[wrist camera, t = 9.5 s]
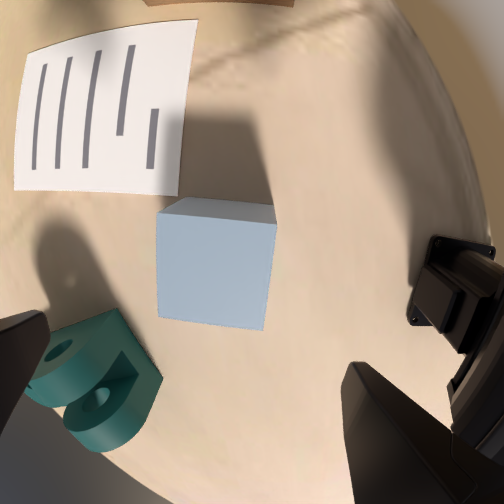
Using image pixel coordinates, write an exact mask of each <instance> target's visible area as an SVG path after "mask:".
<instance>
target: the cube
mask: <svg viewBox="0 0 504 504" xmlns="http://www.w3.org/2000/svg"><path fill="white" fill-rule="evenodd" d="M276 230H277V221H276V215H275V209H274V205H269V204H260V203H250V202H241V201H230V200H220V199H209V198H197V197H185V198H183V199H181V200H179V201H177V202H176V203H174V204H172V205H170V206H168V207H166V208H165V209H163V210H161V211H159V212H157V227H156V263H157V299H158V317H163V318H169V319H175V320H182V321H188V322H195V323H202V324H209V325H217V326H225V327H233V328H242V329H251V330H260V331H263V327H264V320H265V313H266V306H267V299H268V291H269V284H270V276H271V269H272V261H273V254H274V246H275V238H276Z"/></svg>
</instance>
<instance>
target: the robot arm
mask: <svg viewBox="0 0 504 504" xmlns="http://www.w3.org/2000/svg"><path fill="white" fill-rule="evenodd" d="M437 240H439V242H438V244H437V245H436V241H437ZM490 251H491V252H490ZM489 253H490V254H489ZM495 253H496V249H495V247H493V246H491V245H489V244H484V243H479V242H474V241H469V240H464V239H459V238H454V237H449V236H443V235H438V234H436V235H433V236H432V237H431V239H430V242H429V246H428V250H427V254H426V258H425V262H424V266H423V267H422V270H421V273H420V277H419V280H418V284H417V287H416V290H415V293H414V297H413V302H412V305H411V308H410V311H409V314H408V317H407V320H408V322H409V324H410V325H412V326H434V328H435V329H436V330H437V331H438V332H439V333H440V334H443V336H444V337H445V338H446V339H447V341H448V342H449V343H450V344H451V345H452V347H453V348H454V349H455V350H456V352H457V353H458V354H463V355H464V356H465V359H464V361H463V362H462V364H461V366H460V368H459V369H458V371H457V373H456V374H455V376H454V378H452V379H451V380H450V382H449V383H448V385H447V391H448V395H449V400H450V405H451V407H450V408H451V413H452V419H453V423H452V424H451V430H449V429H448V428H447V427H446V426H444V425H443V424H442V423H441V422H439V421H438V420H437V419H436V418H434V417H433V416H432V415H431V414H429V413H428V412H427V411H426V410H424V409H423V408H422V407H421V406H419V405H418V404H417V403H416V402H414V401H413V400H412V399H411V398H409V397H408V396H407V395H406V394H404V393H403V392H402V391H401V390H399V389H398V388H397V387H396V386H394V385H393V384H392V383H391V382H390V381H388V380H387V379H386V378H385V377H383V376H382V375H381V374H380V373H378V372H377V371H376V370H375V369H374V368H372V367H371V366H370V365H369V364H367V363H366V362H355V361H353V362H351V363H350V364H349V366H348V368H347V371H346V374H345V376H344V379H343V382H342V385H341V401H342V415H343V431H344V441H345V447H346V453H347V458H348V464H349V470H350V476H351V482H352V488H353V495H354V502H355V504H504V267H503V266H501V265H499V264H497V263H496V262H494V257H495ZM414 317H416V318H415V319H414V320H413V318H414ZM50 340H51V334H50V330H49V326H48V322H47V318H46V315H45V314H44V313H43V312H41V311H38V310H30V311H27V312H23V313H20V314H16V315H13V316H9V317H6V318H3V319H0V436H1V434H2V432H3V430H4V428H5V426H6V424H7V422H8V420H9V418H10V416H11V414H12V412H13V410H14V409H15V407H16V405H17V403H18V401H19V399H20V398H21V396H22V394H23V392H24V391H25V389H26V387H27V386H28V384H29V382H30V380H31V379H32V377H33V375H34V373H35V371H36V369H37V366H38V364H39V362H40V360H41V358H42V356H43V354H44V352H45V350H46V348H47V346H48V345H49V343H50ZM451 431H452V432H451Z"/></svg>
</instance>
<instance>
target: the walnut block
mask: <svg viewBox="0 0 504 504" xmlns="http://www.w3.org/2000/svg"><path fill="white" fill-rule="evenodd" d="M143 1H144V2H145V3H146V5H147V6H148V7H149V6H158V5H167V4H179V3H197V2H239V3H257V4H269V5H278V6H287V7H293V5H294V0H143Z"/></svg>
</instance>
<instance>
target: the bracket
mask: <svg viewBox="0 0 504 504" xmlns="http://www.w3.org/2000/svg"><path fill="white" fill-rule="evenodd" d="M50 334H51V340H50V343H49V345H48V346H47V348H46V350H45V352H44V354H43V356H42V358H41V360H40V362H39V364H38V366H37V369H36V371H35V373H34V375H33V377H32V379H31V380H30V382H29V384H28V386H27V387H26V389H25V391H24V392H25V393H26V394H27V395H28V396H29V397H30V398H32V399H33V400H34V401H36V402H38V403H39V404H41V405H44V406H47V407H51V408H56V407H61V406H67V407H66V409H65V412H64V415H63V423H64V425H65V427H66V428H67V429H68V430H69V431H70V432H71V433H72V434H73V435H74V436H75V437H76V438H77V439H78V440H79V441H80V442H81V443H82V444H83V445H84V446H85V447H86V448H87V449H89V450H90V451H93V452H108V451H111V450H114V449H116V448H118V447H120V446H122V445H124V444H125V443H126V442H128V441H129V440H130V439H132V438H133V437H134V436H135V435H136V434H137V433H138V431H139V430H140V429H141V428H142V426H143V425H144V423H145V421H146V419H147V417H148V414H149V412H150V410H151V407H152V405H153V402H154V400H155V397H156V395H157V393H158V390H159V388H160V386H161V383H162V381H163V377H162V376H161V374H160V373H159V371H158V370H157V369H156V367H155V366H154V364H153V363H152V362H151V360H150V359H149V357H148V356H147V354H146V353H145V351H144V350H143V349H142V347H141V346H140V344H139V343H138V341H137V339H136V338H135V336H134V335H133V333H132V332H131V330H130V329H129V327H128V325H127V324H126V322H125V321H124V319H123V317H122V316H121V314H120V312H119V311H118V309H117V308H116V309H113V310H110V311H108V312H105V313H102V314H100V315H97V316H94V317H92V318H89V319H86V320H84V321H81V322H78V323H76V324H73V325H70V326H68V327H65V328H62V329H60V330H57V331H54V332H52V333H50Z"/></svg>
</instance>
